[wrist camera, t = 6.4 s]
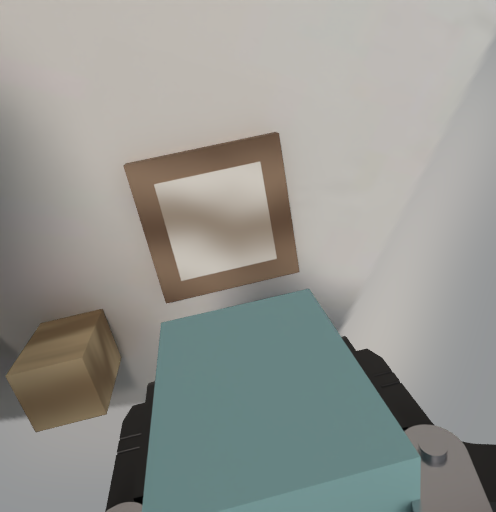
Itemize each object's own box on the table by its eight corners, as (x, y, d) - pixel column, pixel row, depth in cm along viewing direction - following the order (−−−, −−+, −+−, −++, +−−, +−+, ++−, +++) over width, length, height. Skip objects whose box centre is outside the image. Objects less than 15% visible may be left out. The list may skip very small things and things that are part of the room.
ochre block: (40, 322, 28) (5, 376, 23) (102, 308, 28) (82, 357, 23) (63, 371, 30) (35, 432, 24) (121, 357, 30) (106, 414, 25)
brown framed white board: (125, 163, 25) (123, 166, 24) (275, 132, 26) (279, 133, 25) (166, 297, 29) (166, 304, 28) (295, 266, 29) (299, 272, 28)
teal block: (161, 322, 11) (139, 532, 6) (308, 288, 12) (420, 456, 6) (195, 434, 13) (204, 676, 8) (323, 401, 13) (419, 610, 8)
